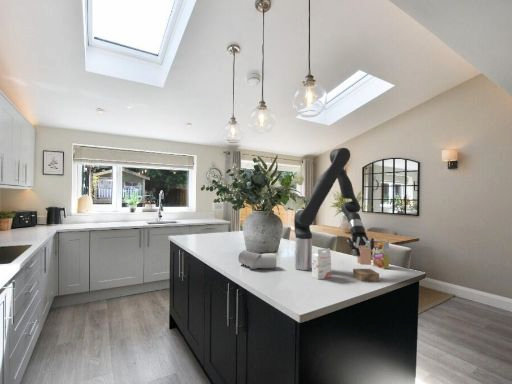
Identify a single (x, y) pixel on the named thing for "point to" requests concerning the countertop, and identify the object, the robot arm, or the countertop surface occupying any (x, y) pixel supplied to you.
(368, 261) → the terracotta block
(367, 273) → the walnut block
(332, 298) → the countertop surface
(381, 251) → the candy box
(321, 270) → the ink cartridge box
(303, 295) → the countertop surface
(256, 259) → the bent grey cylinder
